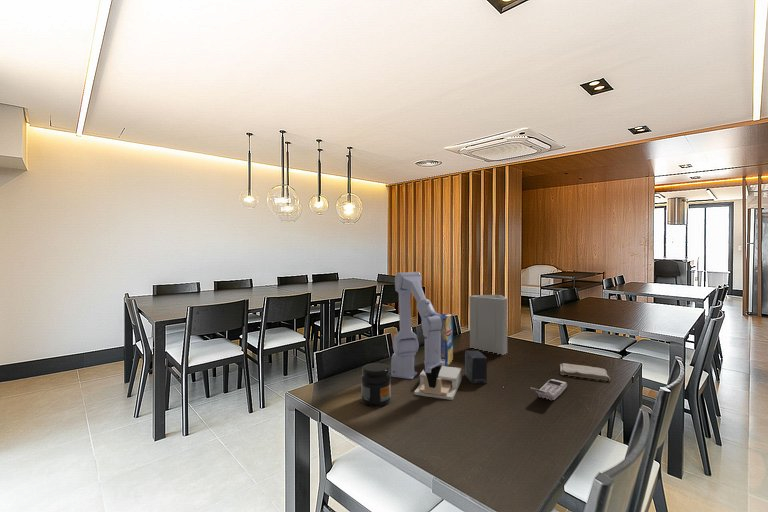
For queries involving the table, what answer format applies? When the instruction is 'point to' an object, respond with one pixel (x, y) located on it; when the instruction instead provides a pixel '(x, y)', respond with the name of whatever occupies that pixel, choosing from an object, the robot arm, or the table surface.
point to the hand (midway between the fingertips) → (432, 386)
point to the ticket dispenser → (444, 374)
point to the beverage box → (447, 339)
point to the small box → (476, 367)
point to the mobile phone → (551, 389)
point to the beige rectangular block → (440, 388)
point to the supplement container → (375, 384)
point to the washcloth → (583, 371)
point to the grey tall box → (488, 323)
